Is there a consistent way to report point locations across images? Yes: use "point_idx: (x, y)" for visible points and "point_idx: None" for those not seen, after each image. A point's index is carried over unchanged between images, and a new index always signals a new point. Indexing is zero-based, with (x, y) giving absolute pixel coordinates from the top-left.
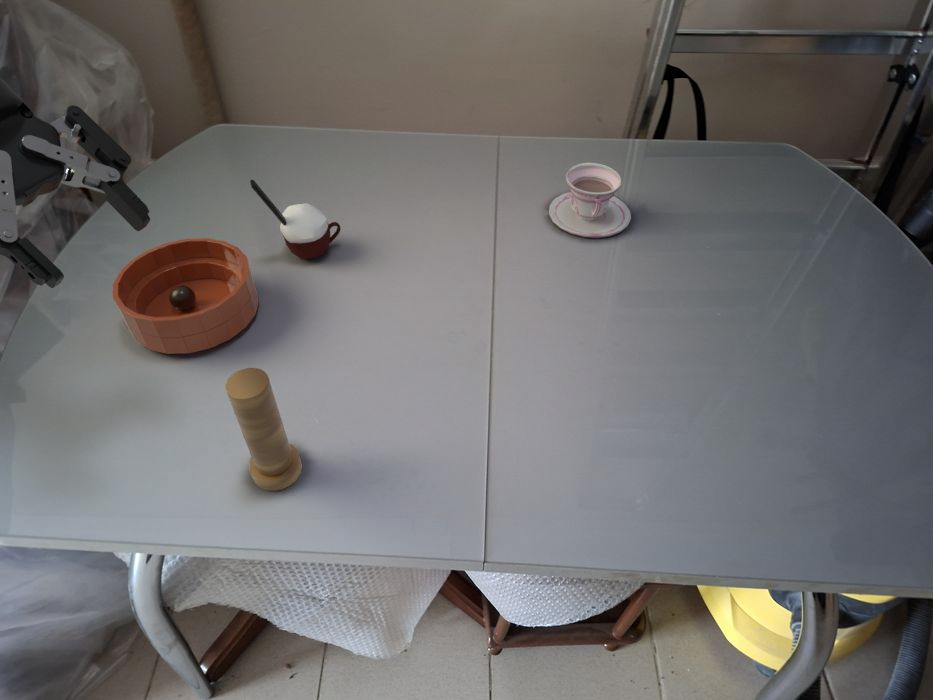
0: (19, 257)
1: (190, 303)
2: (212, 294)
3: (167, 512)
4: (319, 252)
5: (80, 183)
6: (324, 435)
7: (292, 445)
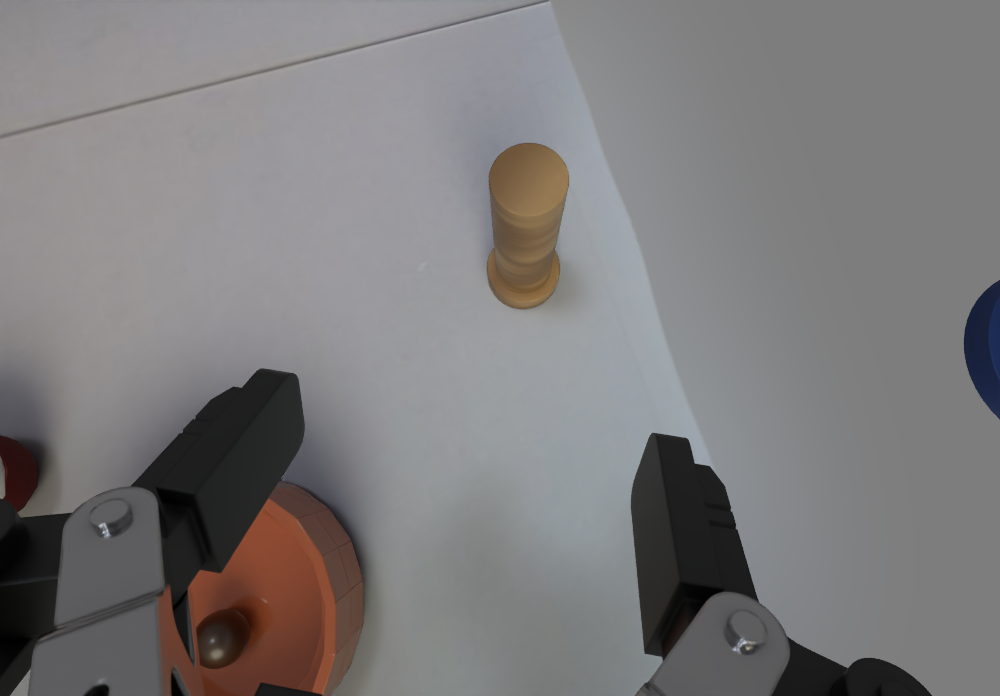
0: (737, 561)
1: (232, 611)
2: None
3: (636, 383)
4: (18, 443)
5: (197, 676)
6: (445, 242)
7: (489, 256)
